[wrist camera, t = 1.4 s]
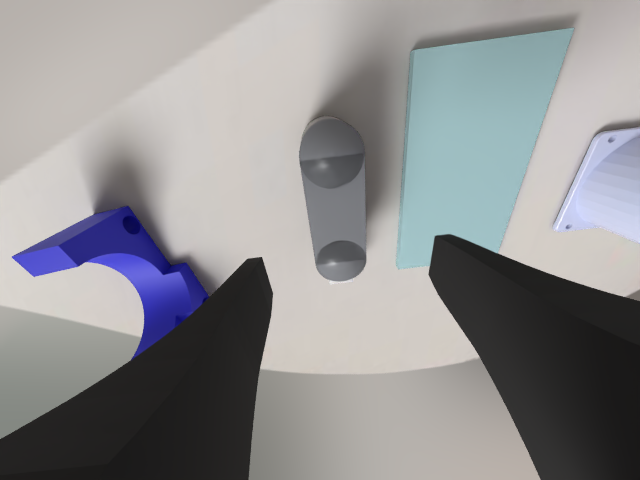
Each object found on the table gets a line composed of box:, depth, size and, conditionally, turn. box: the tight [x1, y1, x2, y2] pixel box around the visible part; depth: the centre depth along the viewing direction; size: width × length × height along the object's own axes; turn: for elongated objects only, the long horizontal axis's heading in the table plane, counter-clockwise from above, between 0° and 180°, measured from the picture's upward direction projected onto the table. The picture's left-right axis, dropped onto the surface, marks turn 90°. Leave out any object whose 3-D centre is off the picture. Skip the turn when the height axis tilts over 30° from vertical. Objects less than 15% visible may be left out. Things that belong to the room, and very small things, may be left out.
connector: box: [299, 116, 366, 284], centre depth 16 cm, size 4×12×4 cm, turn 7°
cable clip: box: [12, 206, 209, 360], centre depth 19 cm, size 12×4×6 cm, turn 13°
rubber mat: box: [396, 28, 574, 269], centre depth 17 cm, size 9×16×1 cm, turn 7°
